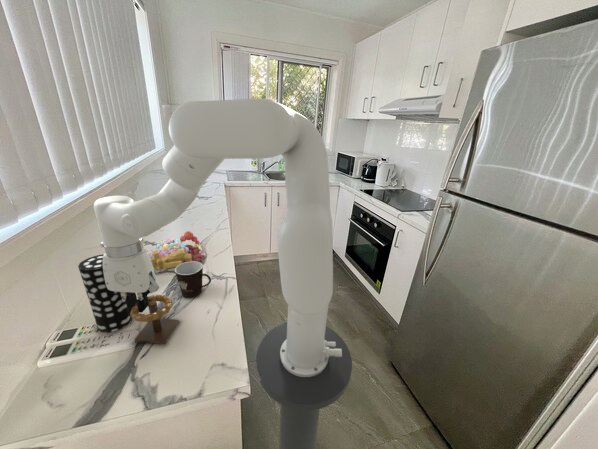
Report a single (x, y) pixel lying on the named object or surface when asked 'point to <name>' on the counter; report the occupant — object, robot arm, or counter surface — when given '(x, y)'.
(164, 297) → the ring
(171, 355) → the counter surface
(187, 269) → the coffee mug
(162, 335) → the stand
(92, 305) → the white-spotted black cylinder
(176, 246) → the candy platter
